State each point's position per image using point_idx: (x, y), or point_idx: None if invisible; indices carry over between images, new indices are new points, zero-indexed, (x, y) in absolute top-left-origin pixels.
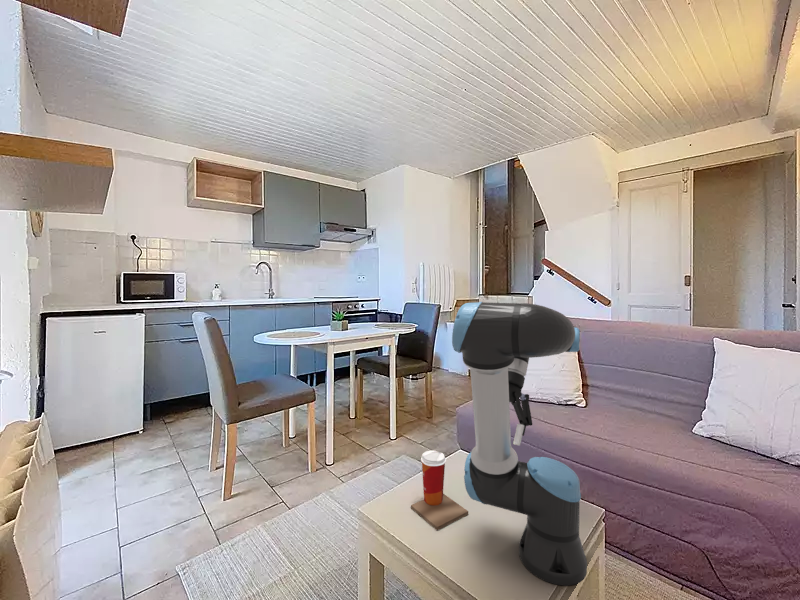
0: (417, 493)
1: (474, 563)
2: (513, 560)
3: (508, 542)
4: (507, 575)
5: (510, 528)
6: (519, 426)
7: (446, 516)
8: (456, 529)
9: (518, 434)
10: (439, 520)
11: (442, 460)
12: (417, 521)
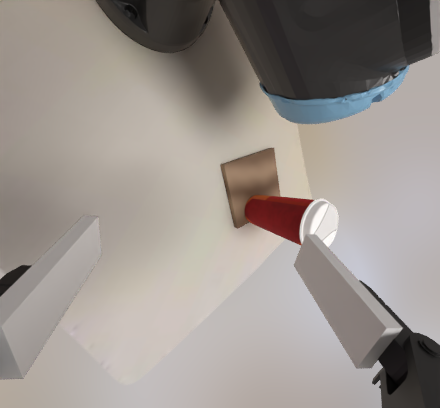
0: (260, 236)
1: None
2: (212, 34)
3: (197, 72)
4: None
5: (173, 99)
6: (30, 329)
7: (255, 165)
8: (249, 139)
9: (69, 268)
10: (266, 159)
11: (318, 206)
12: (280, 175)
